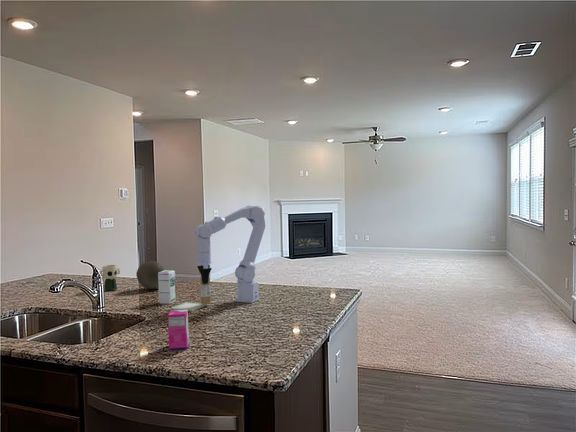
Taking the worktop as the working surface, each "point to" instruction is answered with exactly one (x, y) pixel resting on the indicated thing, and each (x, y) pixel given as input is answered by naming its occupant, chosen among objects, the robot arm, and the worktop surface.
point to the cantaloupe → (149, 274)
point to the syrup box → (167, 287)
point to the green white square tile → (188, 306)
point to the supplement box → (178, 329)
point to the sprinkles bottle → (205, 291)
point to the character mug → (110, 276)
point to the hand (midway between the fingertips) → (204, 282)
